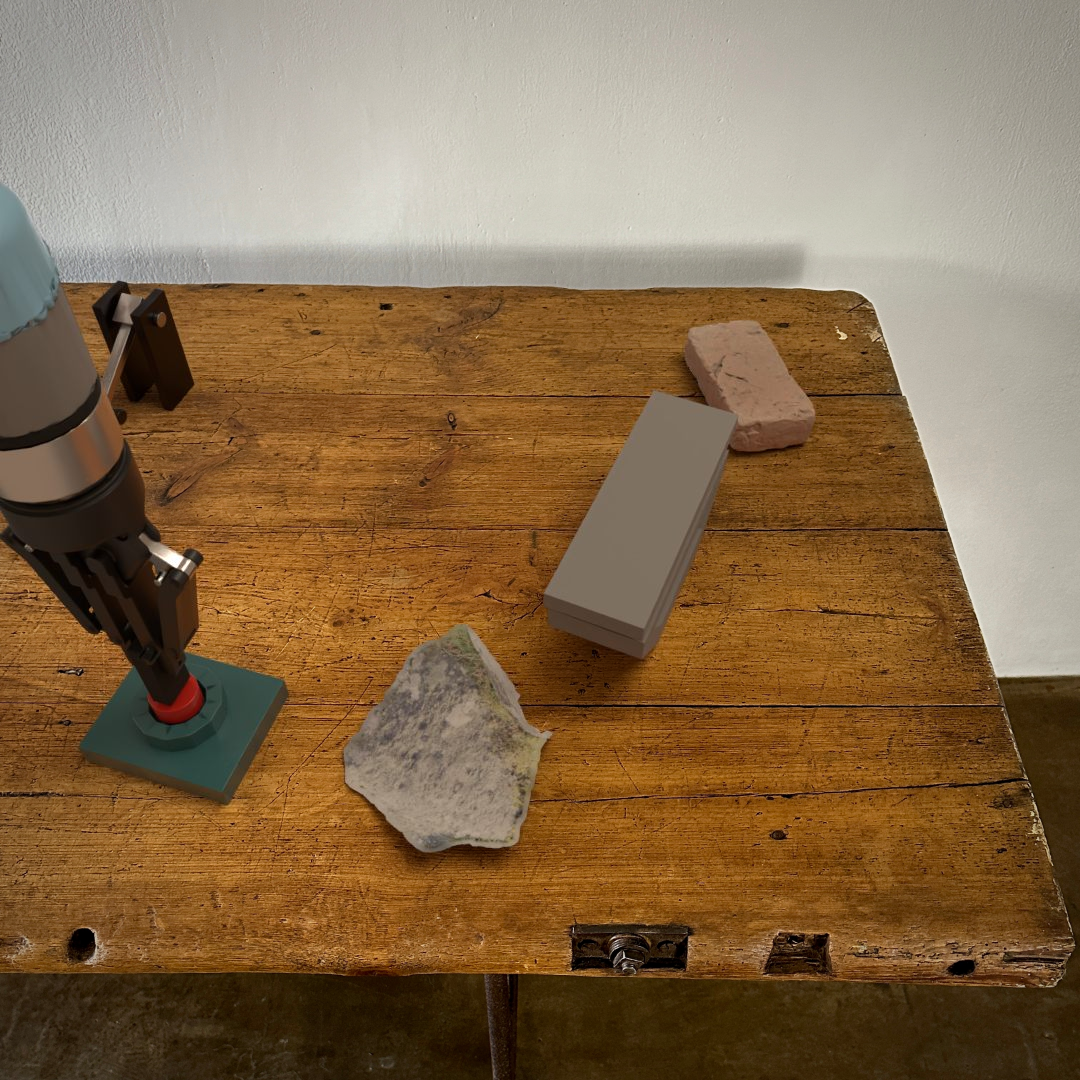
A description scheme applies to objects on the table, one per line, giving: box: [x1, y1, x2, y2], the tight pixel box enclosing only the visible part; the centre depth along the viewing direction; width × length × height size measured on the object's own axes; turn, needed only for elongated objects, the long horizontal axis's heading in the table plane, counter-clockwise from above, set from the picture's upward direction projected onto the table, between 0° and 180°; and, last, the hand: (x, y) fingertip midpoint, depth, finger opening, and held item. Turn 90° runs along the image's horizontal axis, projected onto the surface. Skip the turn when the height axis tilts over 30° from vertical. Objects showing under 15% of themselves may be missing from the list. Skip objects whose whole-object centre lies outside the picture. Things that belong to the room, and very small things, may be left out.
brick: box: [683, 319, 816, 452], centre depth 101 cm, size 17×8×5 cm, turn 13°
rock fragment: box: [343, 623, 553, 853], centre depth 72 cm, size 15×16×5 cm
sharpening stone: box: [542, 390, 739, 660], centre depth 82 cm, size 25×8×11 cm, turn 157°
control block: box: [77, 651, 290, 806], centre depth 74 cm, size 12×10×4 cm
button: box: [148, 673, 203, 724], centre depth 73 cm, size 4×4×2 cm
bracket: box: [91, 279, 195, 412], centre depth 96 cm, size 12×9×13 cm
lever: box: [100, 293, 145, 426], centre depth 91 cm, size 12×5×2 cm, turn 163°
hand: (172, 688), depth 72 cm, fingers closed
